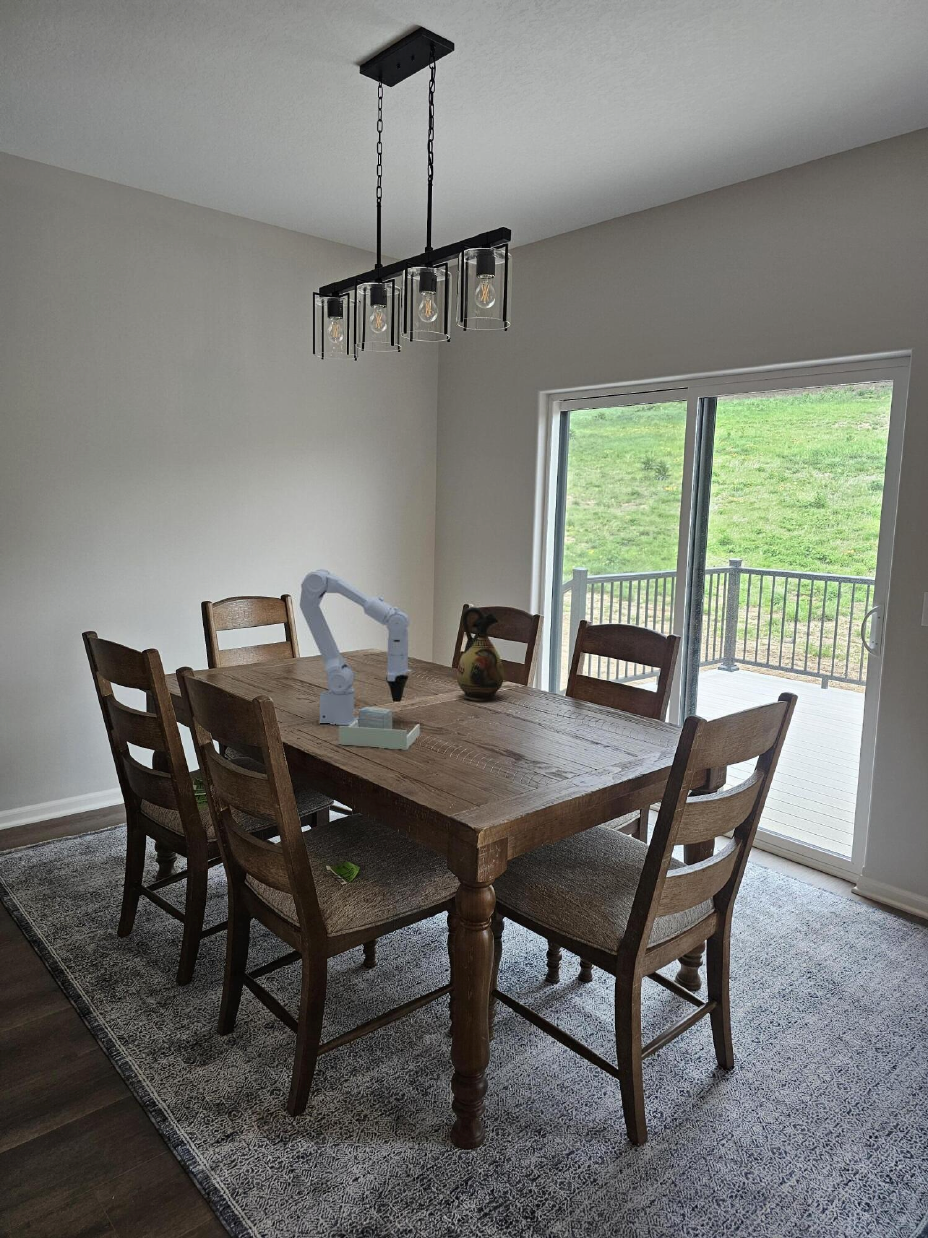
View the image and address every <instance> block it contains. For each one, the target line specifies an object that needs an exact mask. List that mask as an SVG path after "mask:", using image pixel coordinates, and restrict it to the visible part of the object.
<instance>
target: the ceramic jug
mask: <svg viewBox="0 0 928 1238" xmlns="http://www.w3.org/2000/svg"><path fill="white" fill-rule="evenodd" d="M473 614H476V615H477V616H478V617H477V618H476V619H475V620H474V621H473V622H472V623H471V626H472V628H476V633H475V634H474V635H473V636H472V632H471V630H470V627H469V626H470V625H469V622H468V616H469V615H473ZM461 618H462V626H463V629H464V632H465V636H466V639H467V640H466V643H465V646H464V651H463V654H462V655H461V657H460V660H459V662H458V666H457V670H456V680H457V684H458V686H459V687H460V689H461V691H462V692H463V693H464V698H465V699H468V700H470V701H476V702H484V703H485V702H490V701H494V700H495V696H496V694H497V692H499V690H500V689H501V688H502V686H503V683H504V679H505V672H504V670H505V669H504V666H503V663H502V659H501V657H500V654H499V653H498V650H497V649H496V648H495V646H494V645H493V643H492V641H491V640H490V637H489V635H488V629H489V628H490V627H492V626H495V625H497V624H500V623H501V621H500V619H498V618H497V617H496V615H495V614H494V613H493V612H488V613H486V615H484V613H483V611H482V609H480V608H479V607H477V606H476V607H475V606H470V607H468V608H466V609H465V610H463V614H462V617H461Z"/></svg>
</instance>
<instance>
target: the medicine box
mask: <svg viewBox="0 0 928 1238" xmlns="http://www.w3.org/2000/svg"><path fill="white" fill-rule="evenodd" d="M358 718H359V719H358V727H364V728H379V729H393V709H391V708H382V707H375V706H365V707H361V709H359V710H358Z"/></svg>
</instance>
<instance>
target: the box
mask: <svg viewBox="0 0 928 1238" xmlns="http://www.w3.org/2000/svg"><path fill="white" fill-rule="evenodd" d="M420 725H421V724H420V723H418V724H416V725H415V726H414V727H413V728H412V729H411V730H410V732H409V733H408V730H406V729H405V730H404V729H393V728H392V729H379V728H364V727H359V719H358V720H356V721H354V722H353V723H352V724H351V725H338V745H339V744H343V745H357V746H371V747H379V748H378V749H384V748H388V749H387V750H398V749H402V750H401V751H407V750H408V749H409V748H410V747H411V745H413V743H414V742H415V741H416V740H417V739H418V737H419V736H420V735H421V734H420V733H421V731H420V730H421V729H420V728H421V726H420ZM416 738H417V739H416ZM409 746H410V747H409Z"/></svg>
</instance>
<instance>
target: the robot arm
mask: <svg viewBox="0 0 928 1238" xmlns="http://www.w3.org/2000/svg"><path fill="white" fill-rule="evenodd" d="M300 589H301V593H300V599H299V608H300V611H301V613H302V615H303V617H304V620H305V622H306V623H307V626H308V628H309V631H310V633H311V635H312V637H313V640H314V642H315V645H316V646H317V649H318V651H319V653H320V656H321V658H322V660H323V662H324V671H325V674H326V677H327V679H326V680H327V681H326V682H327V683H326V684H327V687H328V690H323V691H321V693H320V696H319V721H318V724H320V723H330V724H329V725H335V724H336V725H337V726H349V725H351V724H352V723H353V722H354V721H356V720H358V721H359V716H355V689H354V686H353V683H354V682H355V680H356V673H355V671H354V669H353V668H351V666H349V665H348V663H347V661H346V659H345V658H344V657H343V656H342V654H341V652H340V649H339V648H338V645H337V644H336V641H335V639H334V637H333V633H332V632H331V629H330V628H329V624H328V622H327V621H326V618H325V616H324V614H323V612H322V611H323V610H322V609H321V607H320V605H321V602H322V601H323V598H324V596H325V594H340V595H342V596H343V597H344V598H346V599H348V600H350V601H352V602H353V603H355V604H357V605H358V606H360V607H362V608H363V612H364V614H365V615H367V616H368V617H370V618H371V619H373V620H374V621H377V622H378V623H380V624H381V625H383V626H386V628H387V630H388V638H387V667H386V668H387V669H386V676H385V677H386V678H385V680H386V683H387V684H388V687H389V689H390V694H391V699H392V702H397V703H398V702H399V703H400V702H402V699H403V694H404V690H405V687H406V683H407V681H408V680H409V675H405V674H411V673H412V670H413V669H409V667H408V662H409V657H408V656H409V655H408V654H409V638H408V636H409V632H408V627H409V625H410V617H409V615H408V614H407V613H406V612H405V611H404V610H399V608H398V607H397V606H394V607H393V606H392V605H390V604H389V603H387V602H385V601H384V599H385V598H383V597H382V596H379V597H377V596H376V595H375V596H371V597H370V596H368V595H367V594H365V593H364V592H362V591H361V590H359V589H357V588H356V587H354V586H353V585H351V584H350V583H348V582H347V581H346V580H345V579H343V578H341V577H340V576H338V575H336V574H334V573H330V571H328V570H327V569H317V570H315V571H311V572H308V574H306V575H305V577H304V578H303V580H302V582H301V584H300Z"/></svg>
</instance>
